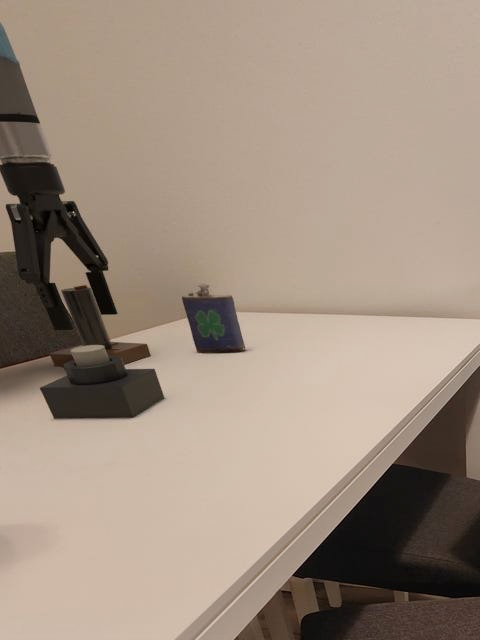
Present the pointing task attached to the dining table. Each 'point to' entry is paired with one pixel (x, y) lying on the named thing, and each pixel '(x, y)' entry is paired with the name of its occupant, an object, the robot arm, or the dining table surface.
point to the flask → (213, 321)
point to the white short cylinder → (90, 355)
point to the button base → (102, 391)
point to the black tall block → (86, 316)
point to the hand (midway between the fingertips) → (88, 321)
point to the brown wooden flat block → (120, 349)
